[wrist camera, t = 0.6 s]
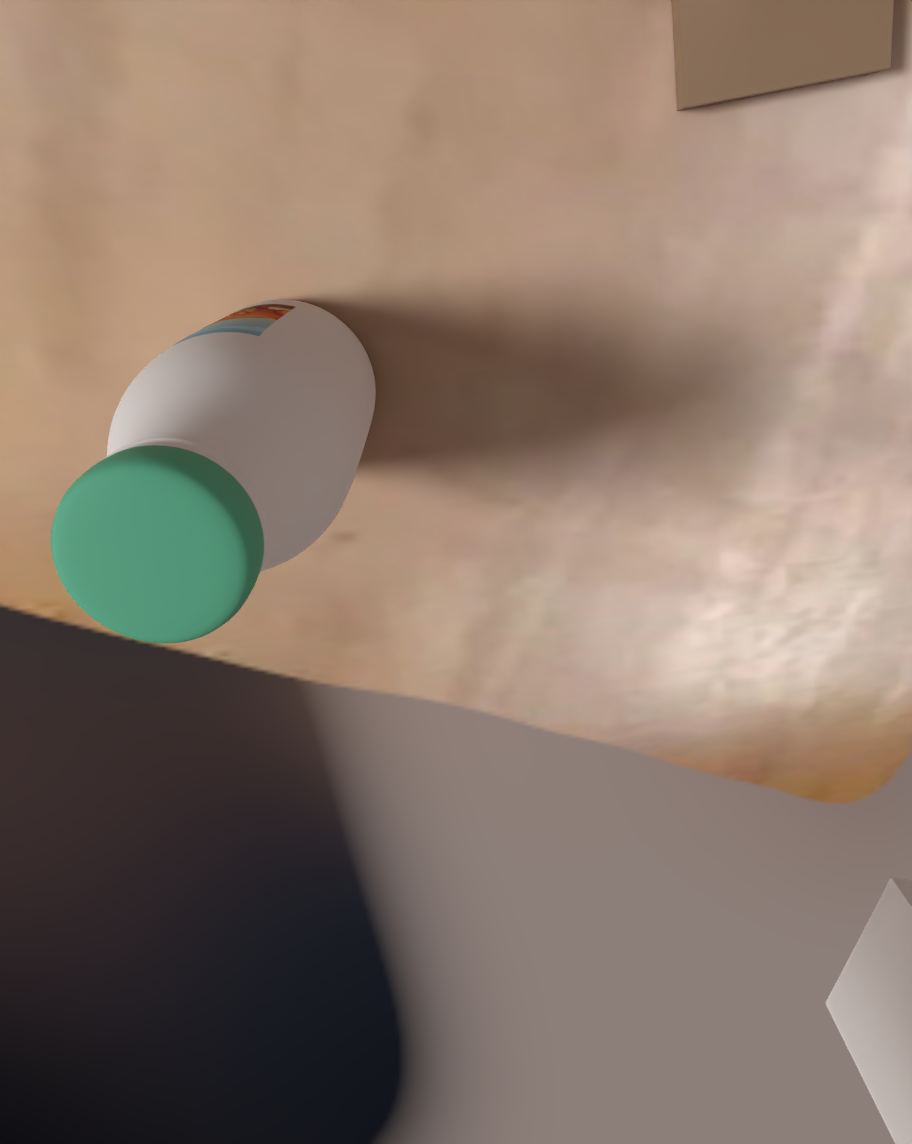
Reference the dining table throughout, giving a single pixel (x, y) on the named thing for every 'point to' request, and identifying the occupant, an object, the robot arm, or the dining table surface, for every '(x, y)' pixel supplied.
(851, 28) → the stand
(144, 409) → the milk bottle
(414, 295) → the dining table surface
